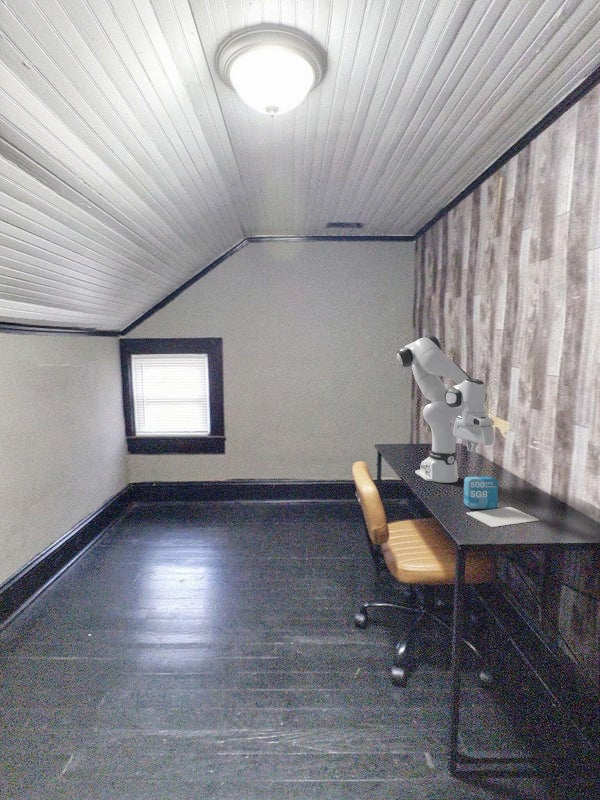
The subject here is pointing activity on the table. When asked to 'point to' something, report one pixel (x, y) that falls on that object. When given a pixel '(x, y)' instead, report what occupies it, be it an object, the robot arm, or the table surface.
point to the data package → (480, 492)
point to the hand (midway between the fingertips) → (471, 451)
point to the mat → (502, 517)
